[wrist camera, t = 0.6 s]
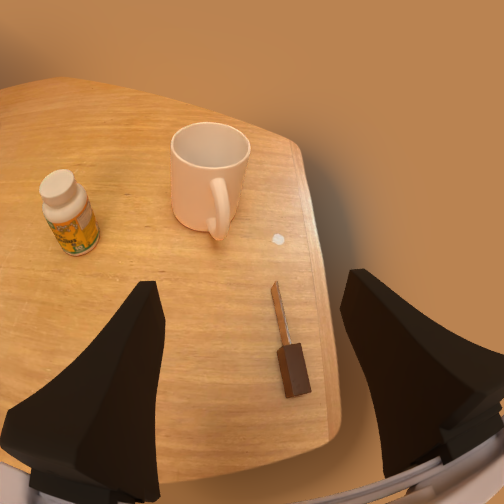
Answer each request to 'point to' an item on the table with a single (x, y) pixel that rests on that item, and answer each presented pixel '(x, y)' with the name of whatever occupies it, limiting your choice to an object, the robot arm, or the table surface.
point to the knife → (289, 354)
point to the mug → (208, 175)
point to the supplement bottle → (69, 212)
